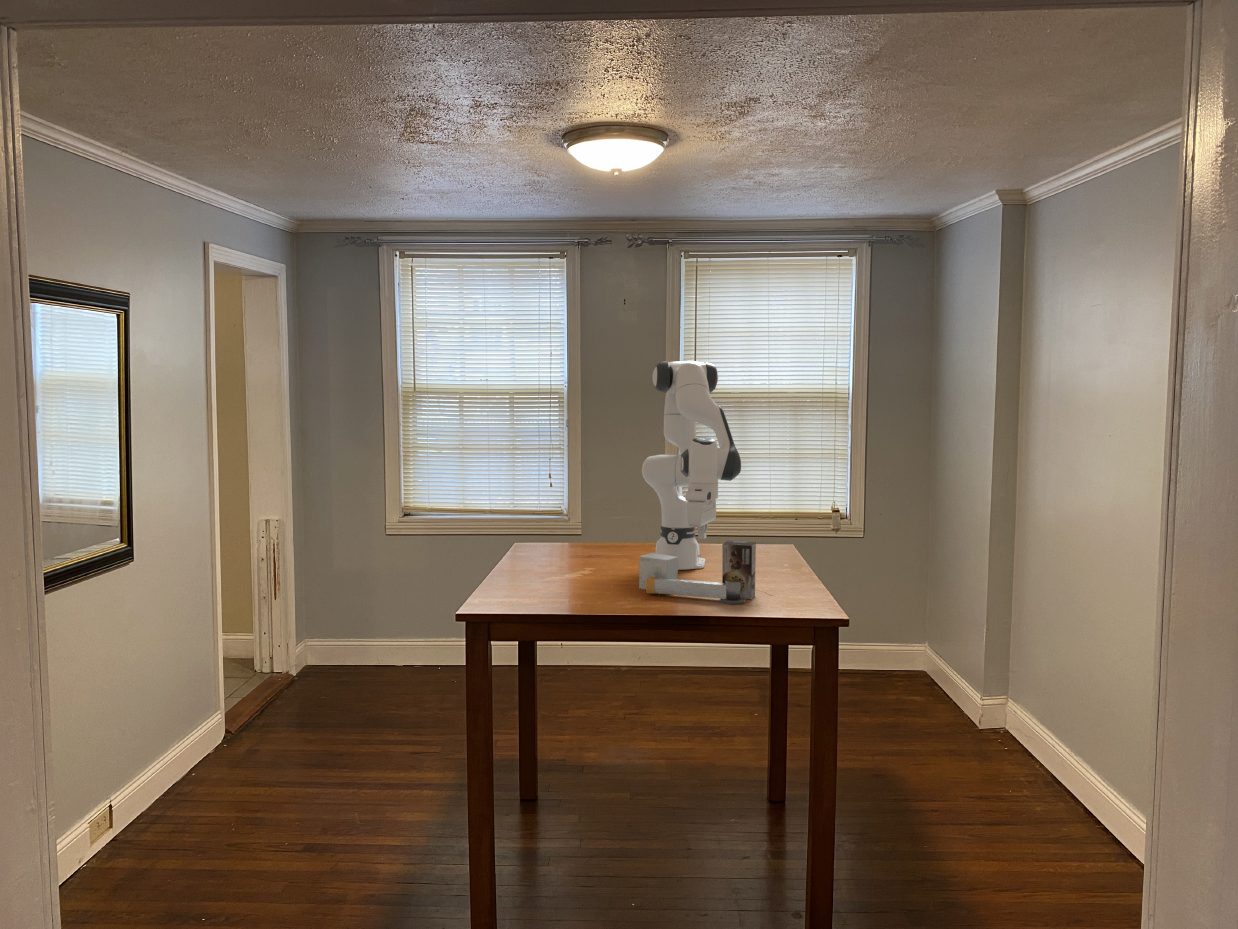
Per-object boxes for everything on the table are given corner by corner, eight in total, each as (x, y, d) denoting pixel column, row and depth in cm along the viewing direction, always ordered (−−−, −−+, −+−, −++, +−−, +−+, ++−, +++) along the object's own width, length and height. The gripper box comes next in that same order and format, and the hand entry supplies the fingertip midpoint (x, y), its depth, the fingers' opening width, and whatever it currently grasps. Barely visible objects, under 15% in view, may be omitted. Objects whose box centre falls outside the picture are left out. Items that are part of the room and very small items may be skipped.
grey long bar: (741, 598, 258) (742, 580, 258) (738, 601, 254) (738, 583, 254) (650, 590, 267) (650, 573, 267) (645, 593, 263) (646, 576, 263)
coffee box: (755, 595, 266) (756, 541, 265) (751, 599, 260) (752, 545, 259) (725, 592, 269) (726, 540, 268) (721, 597, 263) (722, 543, 262)
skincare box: (638, 589, 273) (638, 555, 273) (650, 585, 278) (650, 552, 278) (666, 593, 267) (667, 559, 266) (678, 590, 272) (678, 556, 271)
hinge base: (723, 598, 261) (723, 595, 261) (747, 600, 259) (747, 597, 259) (717, 603, 255) (718, 600, 255) (742, 605, 252) (742, 602, 252)
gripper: (701, 489, 275) (700, 533, 276) (683, 494, 256) (682, 542, 257) (721, 490, 273) (720, 534, 274) (705, 495, 254) (704, 543, 255)
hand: (702, 538), depth 265 cm, fingers closed
